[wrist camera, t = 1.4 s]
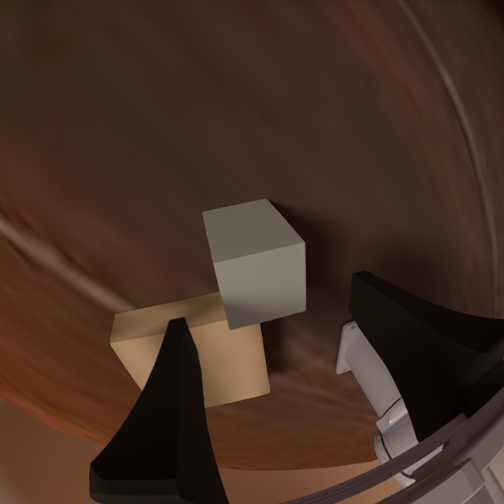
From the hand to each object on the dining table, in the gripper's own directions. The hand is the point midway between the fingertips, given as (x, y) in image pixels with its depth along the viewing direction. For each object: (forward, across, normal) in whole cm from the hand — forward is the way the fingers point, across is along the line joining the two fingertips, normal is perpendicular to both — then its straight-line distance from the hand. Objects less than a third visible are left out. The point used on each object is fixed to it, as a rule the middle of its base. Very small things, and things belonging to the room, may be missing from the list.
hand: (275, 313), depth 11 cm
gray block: (+8, 0, 0) cm, 8 cm away
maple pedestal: (+8, +5, +9) cm, 13 cm away
